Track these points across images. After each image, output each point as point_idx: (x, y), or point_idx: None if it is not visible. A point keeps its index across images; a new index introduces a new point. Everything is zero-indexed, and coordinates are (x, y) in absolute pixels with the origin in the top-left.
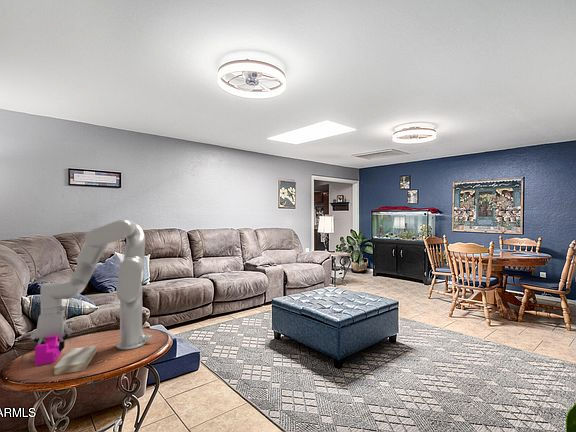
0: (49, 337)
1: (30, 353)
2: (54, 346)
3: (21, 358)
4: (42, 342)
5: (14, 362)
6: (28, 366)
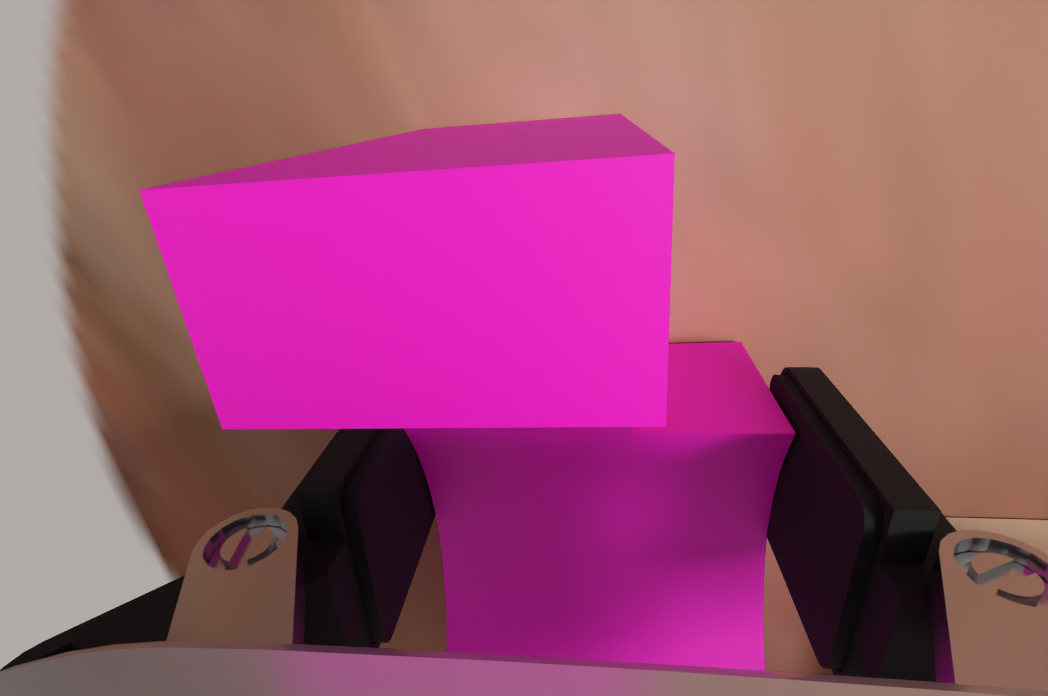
0: (382, 414)
1: (62, 69)
2: (636, 438)
3: (93, 314)
4: (342, 626)
5: (113, 451)
6: (420, 649)
